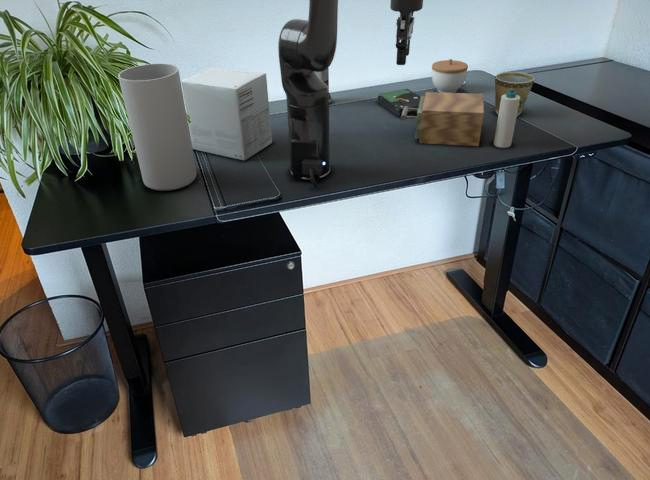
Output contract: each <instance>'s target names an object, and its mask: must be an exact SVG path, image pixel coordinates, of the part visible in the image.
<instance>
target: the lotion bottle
mask: <svg viewBox="0 0 650 480" xmlns="http://www.w3.org/2000/svg"><path fill="white" fill-rule="evenodd" d="M519 101H520V96H518V95H516V92H514V89H510V91H508V92H507V94H505V95H502V97H501V103H500V108H499V114H497V121H496V126H495V132H494V138H493V146H495V147H496V148H501V149H505V148H511V146H512V141H513V136H514V132H515V126H516V122H517V117H518V116H517V112H518V106H519Z"/></svg>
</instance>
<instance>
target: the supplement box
mask: <svg viewBox="0 0 650 480" xmlns="http://www.w3.org/2000/svg"><path fill="white" fill-rule="evenodd" d="M181 86H182V92H183V98H184V104H185V109H186V115H187V114H188V115H189V116H190V121H191V123H190V124H189V123H188V127H189V133H190V138H191V144H192V150H193V151H194V150H195V151H200V152H204V153H208V154H212V155H213V154H214V155H218V156H222V157H226V158H231V159H235V160H241V161H247V160H248V159H250V158H251V157H252V156H254V155H256V154H257V153H258V152H260V151H262V150H264V149H265V148H266V147H268V146H269V145H271V144H272V143H273V138H272V124H271V114H270V113H271V112H270V101H269V90H268V80H267V73H265V72H253V71H246V70H237V69H228V68H220V67H211V68H209V69H206V70H203V71H201V72H199V73H196V74H194V75H192V76H189V77H187V78H185V79H182V80H181Z"/></svg>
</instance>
